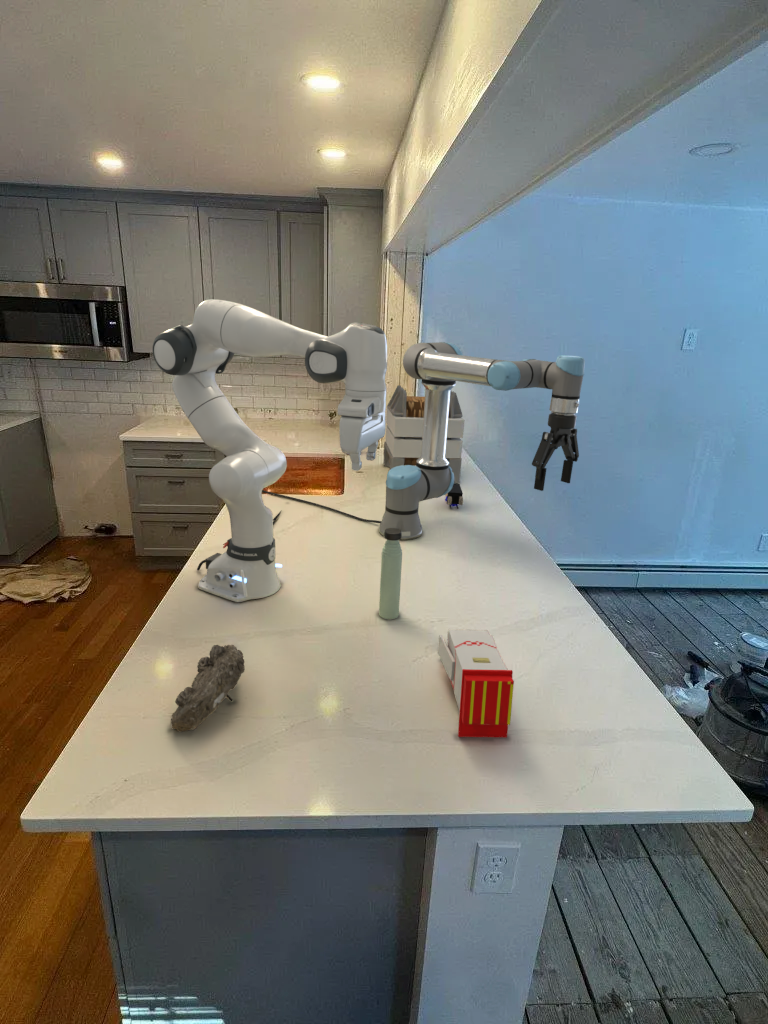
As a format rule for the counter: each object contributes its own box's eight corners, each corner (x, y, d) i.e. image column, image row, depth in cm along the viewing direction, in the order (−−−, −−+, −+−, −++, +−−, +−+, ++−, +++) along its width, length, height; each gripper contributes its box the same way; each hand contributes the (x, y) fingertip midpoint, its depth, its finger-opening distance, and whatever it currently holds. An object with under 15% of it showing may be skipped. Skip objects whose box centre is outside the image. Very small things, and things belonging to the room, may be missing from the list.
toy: (488, 613, 130) (523, 677, 101) (484, 667, 133) (517, 744, 104) (435, 612, 130) (455, 676, 101) (432, 666, 133) (451, 743, 103)
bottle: (389, 621, 144) (393, 538, 136) (374, 614, 147) (378, 531, 139) (402, 614, 147) (407, 532, 139) (388, 607, 151) (392, 527, 143)
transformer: (382, 463, 289) (386, 382, 275) (445, 464, 293) (451, 384, 279) (390, 482, 257) (394, 392, 243) (460, 483, 261) (468, 394, 247)
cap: (393, 542, 137) (393, 535, 136) (380, 537, 140) (380, 530, 139) (405, 537, 140) (405, 531, 139) (392, 532, 143) (392, 526, 142)
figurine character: (463, 514, 226) (458, 498, 239) (465, 496, 223) (460, 481, 236) (446, 513, 226) (442, 497, 239) (448, 496, 222) (444, 481, 236)
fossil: (195, 646, 122) (244, 615, 117) (225, 676, 125) (275, 646, 120) (147, 725, 102) (204, 691, 98) (185, 758, 105) (242, 726, 100)
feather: (288, 505, 226) (290, 501, 226) (271, 529, 199) (273, 524, 199) (284, 503, 226) (287, 499, 225) (266, 526, 199) (269, 522, 199)
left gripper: (367, 395, 132) (366, 453, 137) (334, 408, 114) (333, 474, 119) (393, 397, 131) (390, 455, 135) (363, 410, 112) (362, 477, 117)
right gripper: (548, 419, 148) (537, 496, 155) (598, 411, 163) (586, 482, 171) (525, 414, 153) (515, 489, 160) (575, 407, 169) (564, 476, 176)
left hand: (364, 464), depth 127 cm, fingers open, 8 cm apart
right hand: (552, 485), depth 166 cm, fingers open, 13 cm apart
